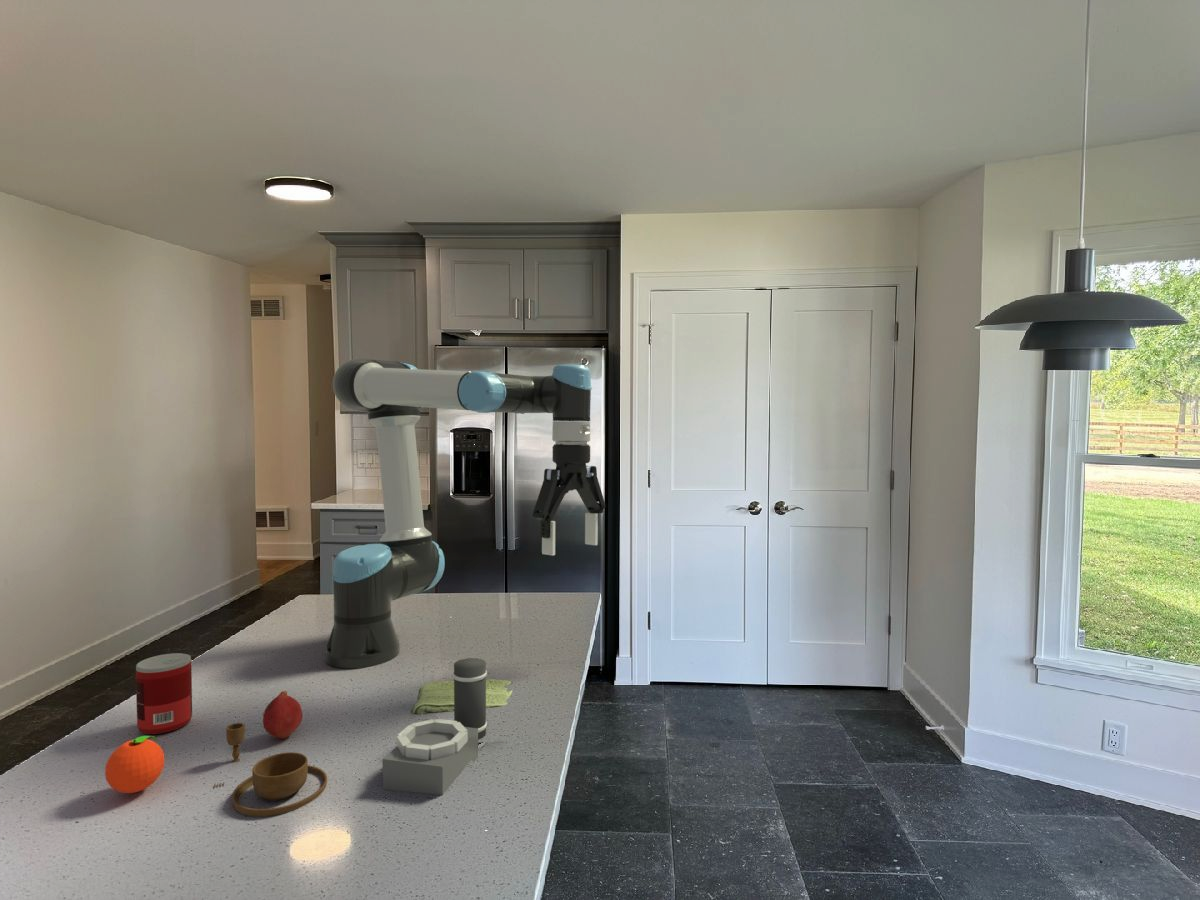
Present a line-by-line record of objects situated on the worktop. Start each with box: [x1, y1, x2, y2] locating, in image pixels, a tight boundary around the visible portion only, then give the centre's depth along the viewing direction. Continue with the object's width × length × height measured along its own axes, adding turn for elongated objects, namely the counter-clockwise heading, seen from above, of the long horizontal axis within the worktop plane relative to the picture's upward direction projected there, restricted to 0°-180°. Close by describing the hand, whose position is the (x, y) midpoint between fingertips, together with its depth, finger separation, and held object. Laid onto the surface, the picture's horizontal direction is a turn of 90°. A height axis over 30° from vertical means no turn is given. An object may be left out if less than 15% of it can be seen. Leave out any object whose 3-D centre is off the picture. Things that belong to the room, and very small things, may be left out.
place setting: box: [213, 722, 328, 818], centre depth 99 cm, size 18×20×6 cm
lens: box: [452, 657, 488, 745], centre depth 111 cm, size 5×5×13 cm
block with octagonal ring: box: [382, 718, 479, 796], centre depth 101 cm, size 12×9×6 cm
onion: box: [262, 689, 303, 740], centre depth 112 cm, size 6×6×8 cm
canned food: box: [135, 652, 193, 735], centre depth 117 cm, size 8×8×11 cm
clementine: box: [104, 735, 166, 794], centre depth 97 cm, size 8×7×7 cm
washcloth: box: [412, 678, 513, 715], centre depth 126 cm, size 13×18×3 cm
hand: (570, 549), depth 138 cm, fingers open, 13 cm apart
